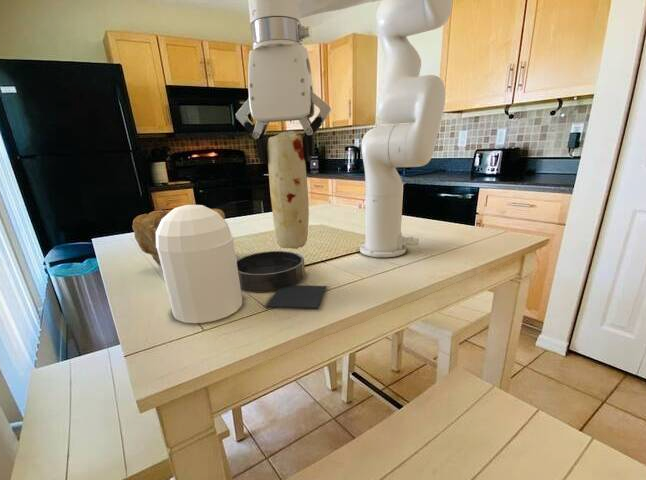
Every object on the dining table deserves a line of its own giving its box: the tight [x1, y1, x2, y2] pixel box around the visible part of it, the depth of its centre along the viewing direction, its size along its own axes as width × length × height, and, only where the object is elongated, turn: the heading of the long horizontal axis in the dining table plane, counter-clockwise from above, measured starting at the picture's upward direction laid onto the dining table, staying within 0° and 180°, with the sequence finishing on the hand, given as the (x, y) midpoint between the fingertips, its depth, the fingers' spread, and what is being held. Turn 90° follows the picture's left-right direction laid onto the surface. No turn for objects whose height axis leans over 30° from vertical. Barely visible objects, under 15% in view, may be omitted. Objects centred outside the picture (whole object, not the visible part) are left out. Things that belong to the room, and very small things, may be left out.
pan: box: [236, 250, 306, 293], centre depth 78 cm, size 16×16×4 cm
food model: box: [267, 130, 310, 250], centre depth 60 cm, size 10×7×20 cm
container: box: [156, 204, 243, 324], centre depth 63 cm, size 14×13×20 cm
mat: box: [266, 284, 327, 310], centre depth 68 cm, size 10×10×1 cm
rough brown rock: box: [131, 208, 226, 268], centre depth 85 cm, size 23×17×15 cm
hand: (286, 161), depth 58 cm, fingers closed on food model, 7 cm apart
